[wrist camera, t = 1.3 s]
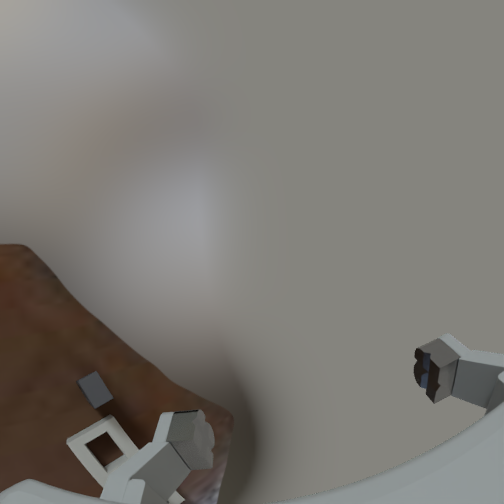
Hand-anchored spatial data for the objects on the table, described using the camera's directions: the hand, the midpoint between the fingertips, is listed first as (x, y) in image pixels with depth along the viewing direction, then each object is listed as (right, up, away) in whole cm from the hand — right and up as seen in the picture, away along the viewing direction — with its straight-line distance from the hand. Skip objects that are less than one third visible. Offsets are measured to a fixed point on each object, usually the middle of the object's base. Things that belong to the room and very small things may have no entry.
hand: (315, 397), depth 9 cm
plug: (-27, -16, +25) cm, 40 cm away
